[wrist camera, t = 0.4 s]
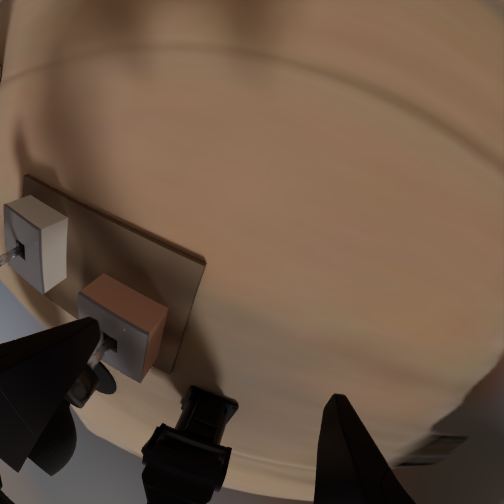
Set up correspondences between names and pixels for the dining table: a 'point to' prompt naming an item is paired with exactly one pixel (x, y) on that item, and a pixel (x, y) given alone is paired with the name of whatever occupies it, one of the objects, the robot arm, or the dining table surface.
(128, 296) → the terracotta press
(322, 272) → the dining table surface
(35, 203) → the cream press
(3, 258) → the black plunger
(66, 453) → the wine glass
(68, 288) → the walnut board
